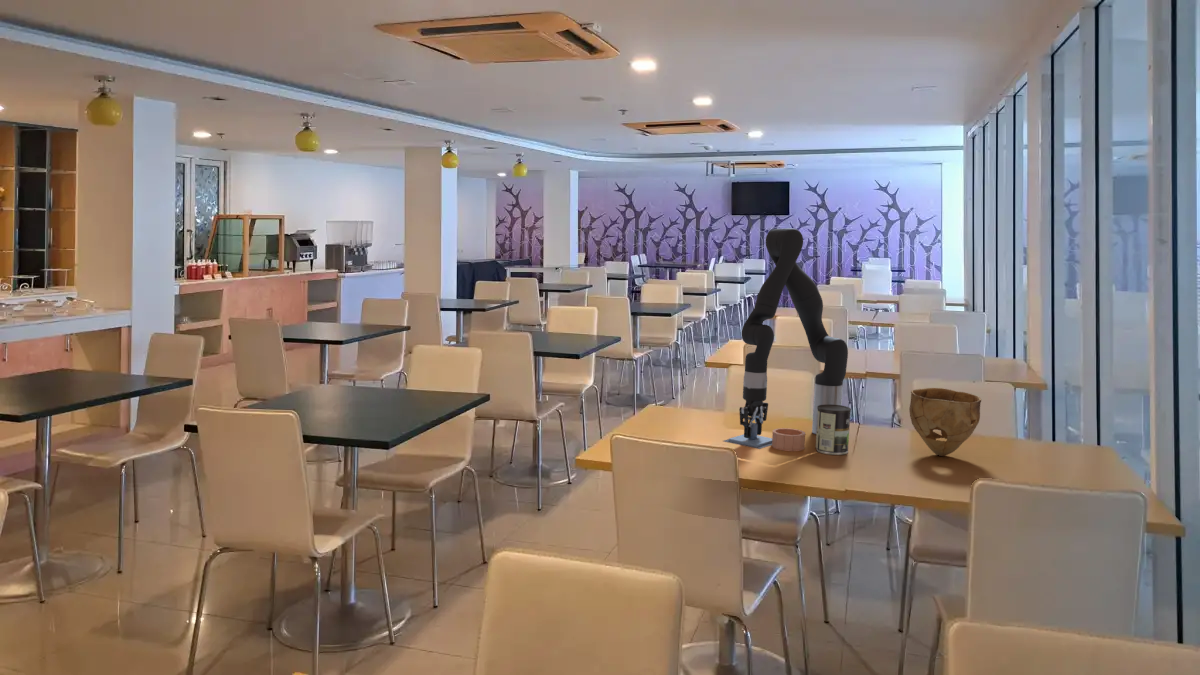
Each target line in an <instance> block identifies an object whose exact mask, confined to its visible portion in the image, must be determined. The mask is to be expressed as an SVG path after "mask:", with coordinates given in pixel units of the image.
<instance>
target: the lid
mask: <svg viewBox="0 0 1200 675" xmlns="http://www.w3.org/2000/svg"><path fill="white" fill-rule="evenodd" d="M757 426H758V424H757V423H756V422H752V425H751V438H745V437H744V433H743V434H740V435H737V436H734V437H733V436H732V437H730V438H728V439H729V441H731V442H735V443H740V444H745V445H750V446H754V447H760V446H763V445H767V444H770V443H772V438H771V437H767V436H763V435H757Z"/></svg>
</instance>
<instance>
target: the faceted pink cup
mask: <svg viewBox="0 0 1200 675" xmlns="http://www.w3.org/2000/svg"><path fill="white" fill-rule="evenodd" d="M771 437H772V445H771V447H772V448H773V449H776V450H779V451H786V452H787V451H788V452H798V451H804V449H805V448H806V447H805V446H806V444H805V443H806V431H803V430H802V429H795V428H788V427H787V428H785V427H782V428H774V429H772V436H771Z"/></svg>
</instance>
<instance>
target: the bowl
mask: <svg viewBox="0 0 1200 675" xmlns="http://www.w3.org/2000/svg"><path fill="white" fill-rule="evenodd" d="M910 393H911V394H910V404H909V411H908V412H909V418H910V420H911V424H912V426H913V428H914V430H915V431H916V433H917V434H918V435H919V436H920V438H921V439H922V441H923V442H924V443H925V445H926V446H927V447H928V449H929V450H930V451H931V452H932V453H934V454H935V455H937V456H938V455H939V456H938V457H944V456H948V455H950V454H952V453H954V452H955V451H957V450H958V449H959V448H960V446H962V444H963V443H964V442H965V441H967V440H968V439H969V438H970V437H971V436H972V434H973V433H974V432H975V429H976V428H977V426H978V424H979V423H980V419H981V402H982V398H981V397H980V396H979V395H976V394H972V393H969V392H964V391H957V390H952V389H948V388H943V387H925V388H917V389H912V390H910ZM934 430H935V431H936V430H938V431H940V433H941V434H939V433H937V432H935V431H934ZM939 439H945V440H939Z"/></svg>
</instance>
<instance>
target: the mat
mask: <svg viewBox="0 0 1200 675" xmlns="http://www.w3.org/2000/svg"><path fill="white" fill-rule="evenodd" d="M723 442H725V443H729V444H734V445H739V446H743V447H748V448H752V449H757V450H762V449H765V448H767V447H772V443H770V444H767V445H763V446H760V447H754V446H750V445H745V444H740V443H735V442H731V441H729V438H728V439H724V440H723Z"/></svg>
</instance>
